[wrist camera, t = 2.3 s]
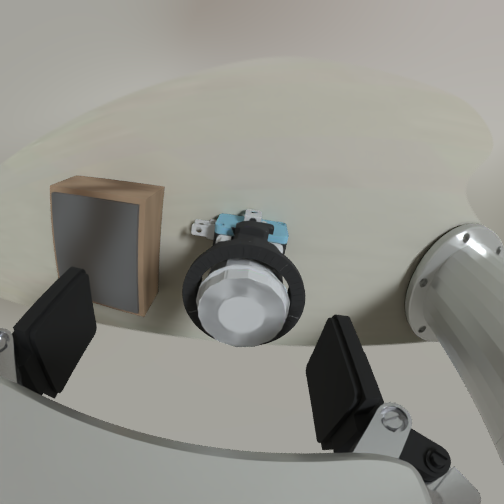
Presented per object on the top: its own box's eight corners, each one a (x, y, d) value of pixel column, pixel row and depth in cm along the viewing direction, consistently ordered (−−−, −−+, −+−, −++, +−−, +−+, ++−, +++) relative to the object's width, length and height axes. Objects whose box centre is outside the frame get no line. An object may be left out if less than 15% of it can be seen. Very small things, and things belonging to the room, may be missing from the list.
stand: (164, 186, 19) (143, 200, 16) (158, 291, 23) (142, 319, 19) (76, 175, 19) (47, 186, 15) (81, 272, 22) (59, 294, 19)
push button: (194, 253, 21) (150, 343, 12) (200, 184, 19) (144, 239, 10) (280, 267, 21) (290, 366, 12) (295, 199, 19) (324, 267, 10)
